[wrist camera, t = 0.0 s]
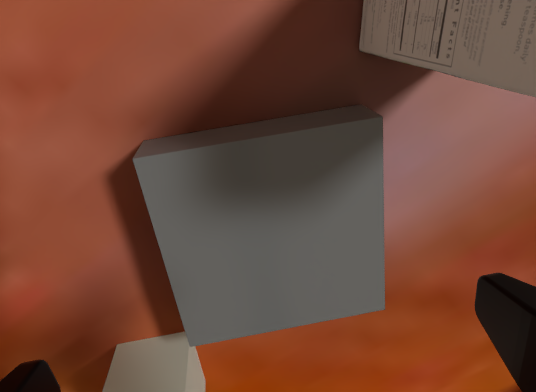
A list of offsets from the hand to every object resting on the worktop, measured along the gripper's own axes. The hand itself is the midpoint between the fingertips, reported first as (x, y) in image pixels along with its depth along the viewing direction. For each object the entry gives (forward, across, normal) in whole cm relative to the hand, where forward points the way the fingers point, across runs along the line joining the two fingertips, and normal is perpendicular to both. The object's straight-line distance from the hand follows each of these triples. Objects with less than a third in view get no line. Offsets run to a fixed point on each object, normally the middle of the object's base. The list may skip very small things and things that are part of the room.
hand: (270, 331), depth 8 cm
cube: (+15, +8, +15) cm, 23 cm away
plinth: (+15, -1, +5) cm, 16 cm away
